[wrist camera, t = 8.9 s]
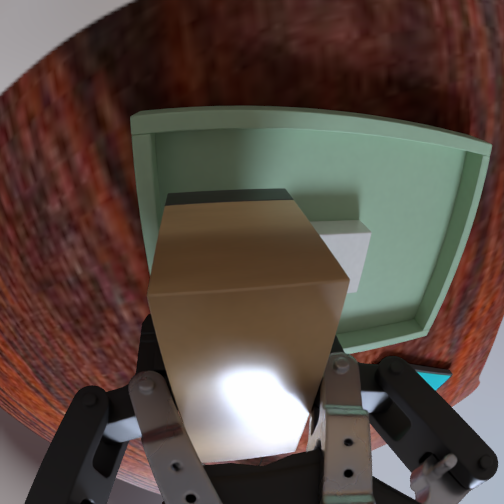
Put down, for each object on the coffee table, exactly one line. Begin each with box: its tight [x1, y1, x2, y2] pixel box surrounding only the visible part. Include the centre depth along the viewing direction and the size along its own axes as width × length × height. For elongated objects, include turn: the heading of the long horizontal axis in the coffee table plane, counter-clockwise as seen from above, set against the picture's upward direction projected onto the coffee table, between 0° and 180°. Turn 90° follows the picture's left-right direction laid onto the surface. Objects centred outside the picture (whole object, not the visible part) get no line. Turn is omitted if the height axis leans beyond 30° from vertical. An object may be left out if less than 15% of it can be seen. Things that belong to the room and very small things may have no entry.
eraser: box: [147, 188, 350, 463], centre depth 12 cm, size 10×4×6 cm, turn 178°
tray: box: [130, 106, 492, 354], centre depth 17 cm, size 16×20×2 cm
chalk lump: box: [310, 220, 372, 293], centre depth 17 cm, size 4×4×2 cm
